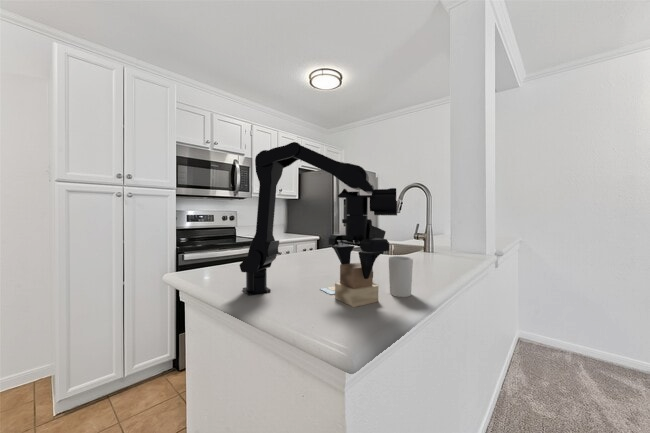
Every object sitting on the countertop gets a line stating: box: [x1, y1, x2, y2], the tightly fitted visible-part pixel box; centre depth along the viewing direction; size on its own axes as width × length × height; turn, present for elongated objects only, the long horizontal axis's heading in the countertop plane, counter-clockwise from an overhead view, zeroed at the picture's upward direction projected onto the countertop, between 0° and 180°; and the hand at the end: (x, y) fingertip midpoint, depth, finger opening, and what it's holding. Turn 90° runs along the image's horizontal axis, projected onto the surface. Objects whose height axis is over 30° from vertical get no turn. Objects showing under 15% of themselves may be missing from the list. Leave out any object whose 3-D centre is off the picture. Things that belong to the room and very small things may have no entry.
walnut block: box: [339, 262, 374, 289], centre depth 71 cm, size 6×6×5 cm
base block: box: [334, 281, 379, 308], centre depth 71 cm, size 8×8×4 cm
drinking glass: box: [388, 255, 414, 298], centre depth 76 cm, size 7×7×10 cm
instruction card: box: [319, 285, 335, 296], centre depth 80 cm, size 6×9×1 cm, turn 121°
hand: (356, 275), depth 71 cm, fingers open, 8 cm apart
